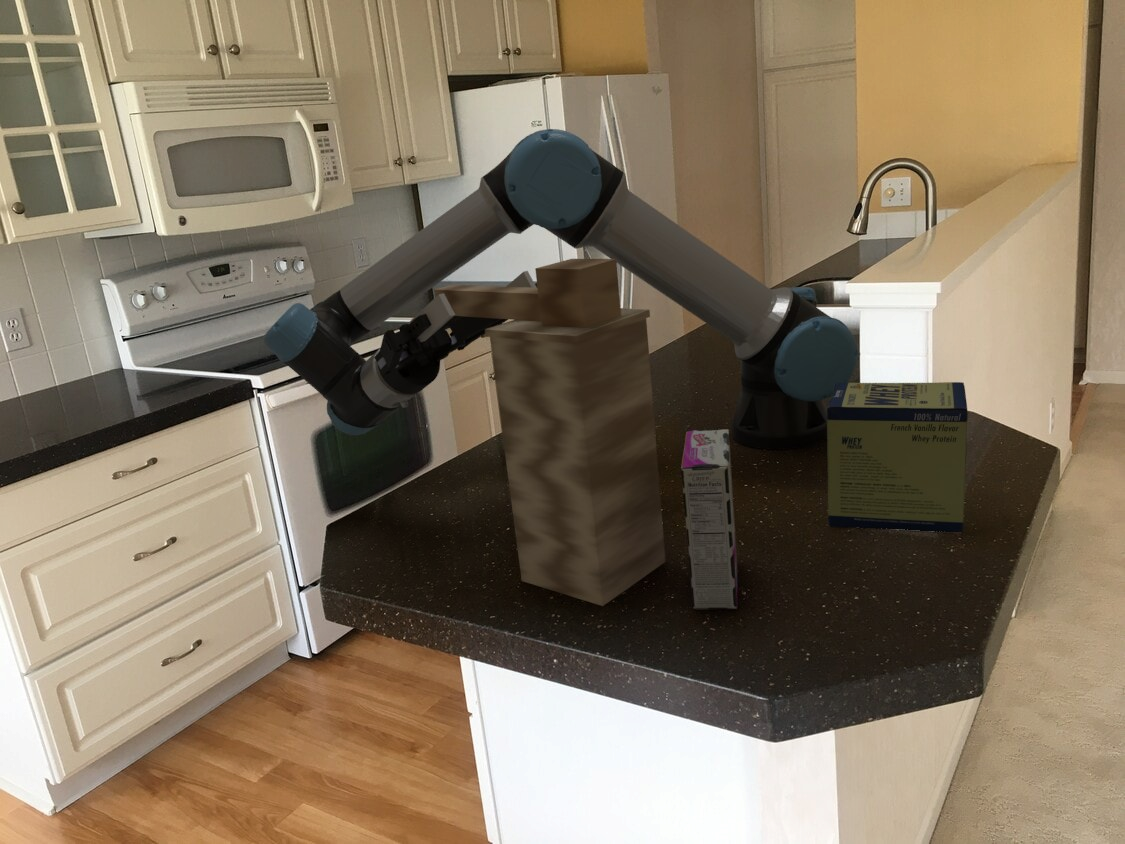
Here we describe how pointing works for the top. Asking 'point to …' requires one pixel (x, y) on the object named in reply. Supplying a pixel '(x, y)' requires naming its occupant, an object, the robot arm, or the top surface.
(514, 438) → the block
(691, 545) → the candy bar box
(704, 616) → the top surface
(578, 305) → the mallet
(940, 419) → the protein box
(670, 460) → the top surface
